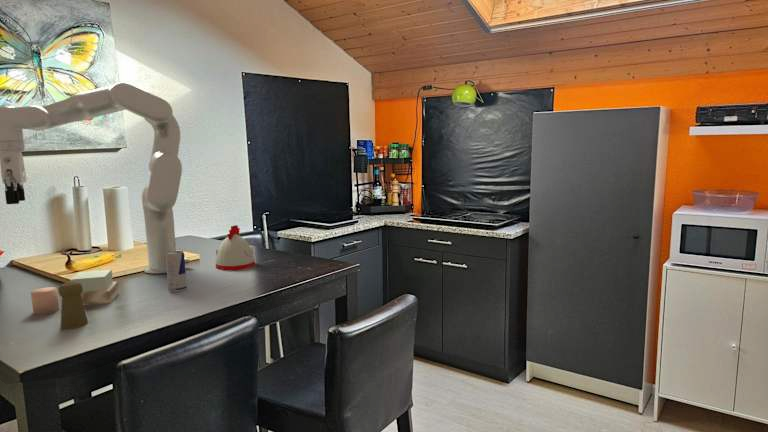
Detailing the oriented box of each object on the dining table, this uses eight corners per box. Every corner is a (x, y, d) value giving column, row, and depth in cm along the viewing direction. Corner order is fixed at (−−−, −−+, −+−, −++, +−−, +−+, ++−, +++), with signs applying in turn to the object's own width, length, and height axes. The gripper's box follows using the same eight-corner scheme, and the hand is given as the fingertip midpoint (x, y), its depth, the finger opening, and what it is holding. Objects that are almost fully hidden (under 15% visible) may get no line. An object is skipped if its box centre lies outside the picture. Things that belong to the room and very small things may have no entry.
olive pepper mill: (68, 321, 136) (63, 280, 134) (92, 320, 136) (88, 279, 135) (55, 329, 130) (50, 286, 128) (81, 328, 130) (76, 285, 129)
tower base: (118, 293, 162) (117, 281, 161) (110, 304, 151) (109, 291, 151) (78, 297, 159) (77, 284, 158) (67, 308, 148) (66, 294, 148)
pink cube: (62, 306, 148) (59, 286, 147) (55, 313, 143) (52, 292, 142) (38, 309, 147) (35, 288, 146) (29, 315, 141) (27, 294, 140)
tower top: (112, 282, 160) (111, 269, 159) (106, 290, 151) (104, 276, 151) (79, 285, 158) (78, 272, 157) (71, 293, 149) (69, 279, 148)
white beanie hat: (260, 262, 199) (258, 223, 197) (245, 271, 185) (242, 229, 183) (226, 261, 201) (224, 222, 199) (208, 270, 188) (206, 228, 186)
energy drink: (190, 288, 164) (187, 250, 163) (178, 293, 159) (175, 254, 158) (176, 287, 166) (173, 250, 164) (164, 291, 161) (161, 253, 159)
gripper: (18, 147, 155) (25, 204, 158) (28, 146, 171) (34, 199, 173) (-13, 147, 152) (-5, 206, 155) (1, 147, 168) (7, 200, 170)
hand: (16, 202), depth 164 cm, fingers open, 9 cm apart
